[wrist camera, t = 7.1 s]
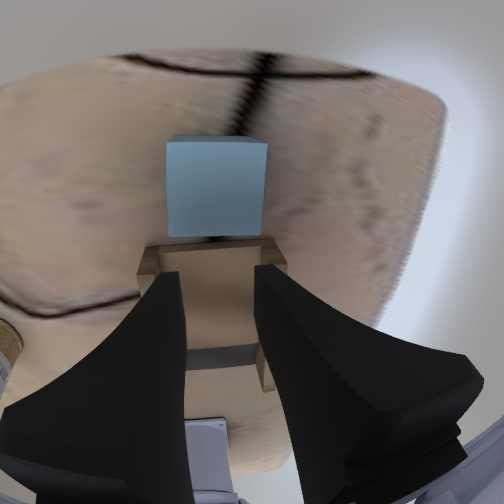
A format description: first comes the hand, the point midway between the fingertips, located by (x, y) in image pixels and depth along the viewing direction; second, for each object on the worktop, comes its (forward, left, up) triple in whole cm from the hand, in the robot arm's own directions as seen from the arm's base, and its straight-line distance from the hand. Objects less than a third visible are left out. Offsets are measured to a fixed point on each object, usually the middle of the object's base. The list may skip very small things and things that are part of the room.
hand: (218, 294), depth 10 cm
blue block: (0, 0, -7) cm, 7 cm away
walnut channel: (-8, 0, -9) cm, 13 cm away
